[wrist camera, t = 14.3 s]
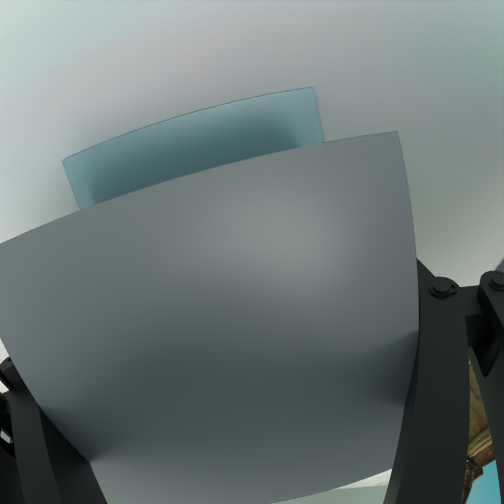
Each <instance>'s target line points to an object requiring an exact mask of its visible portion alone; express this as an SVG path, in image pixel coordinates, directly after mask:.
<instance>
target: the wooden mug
mask: <svg viewBox="0 0 504 504" xmlns="http://www.w3.org/2000/svg"><path fill="white" fill-rule="evenodd" d="M469 376H470V423H469V442H468V454H467V460H468V462H467V464H466V473H465V481H464V487H463V494H462V500H461V504H466V502H467V500H468V497H469V494H470V491H471V487H472V483H473V482H474V481H476V480H477V479H478V478H479V477H480V476H482V475H483V468H482V467H483V466H486V465H488V464H489V463H491V462H492V461H494V460H496V459H495V454H494V448H493V443H492V439H491V434H490V429H489V425H488V421H487V417H486V413H485V409H484V405H483V401H482V398H481V394H480V390H479V387H478V384H477V380H476V377H475V374H474V371H473V368H472V365H471V362H470V359H469Z"/></svg>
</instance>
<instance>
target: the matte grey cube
mask: <svg viewBox="0 0 504 504" xmlns="http://www.w3.org/2000/svg"><path fill="white" fill-rule="evenodd" d="M0 338H1V340H2V342H3V344H4V346H5V348H6V350H7V352H8V354H9V356H10V358H11V360H12V362H13V363H14V365H15V367H16V369H17V371H18V372H19V374H20V376H21V378H22V379H23V381H24V383H25V384H26V386H27V388H28V389H29V391H30V392H31V394H32V396H33V397H34V399H35V400H36V402H37V403H38V405H39V406H40V408H41V409H42V411H43V412H44V414H45V415H46V416H47V417H48V418H49V420H50V421H51V422H52V423H53V424H54V425H55V427H56V428H57V429H58V430H59V431H60V432H61V433H62V434H63V436H64V437H65V438H66V439H67V440H68V441H69V442H70V443H71V444H72V445H73V446H74V447H75V448H76V449H77V450H78V451H79V453H80V454H81V455H82V456H83V457H84V458H85V459H86V460H88V461H89V462H90V465H91V467H92V470H93V472H94V475H95V477H96V479H97V480H98V481H99V482H100V483H101V484H102V485H103V486H104V487H105V488H106V489H107V490H108V491H109V492H110V493H111V494H112V495H113V496H114V497H115V498H116V499H117V500H118V501H119V502H120V503H121V504H270V503H276V502H281V501H286V500H291V499H296V498H300V497H304V496H308V495H312V494H316V493H320V492H323V491H327V490H331V489H334V488H338V487H341V486H344V485H348V484H351V483H354V482H357V481H360V480H363V479H365V478H368V477H371V476H374V475H376V474H379V473H382V472H384V471H387V470H389V469H392V468H393V464H394V460H395V455H396V451H397V446H398V441H399V436H400V430H401V424H402V419H403V412H404V406H405V402H406V398H407V394H408V389H409V385H410V381H411V376H412V371H413V366H414V361H415V356H416V351H417V345H418V339H419V302H418V276H417V260H416V248H415V237H414V228H413V219H412V211H411V203H410V196H409V190H408V184H407V178H406V172H405V166H404V161H403V156H402V151H401V146H400V141H399V137H398V132H397V131H393V132H386V133H379V134H372V135H366V136H360V137H353V138H347V139H342V140H336V141H330V142H325V143H320V144H315V145H309V146H304V147H300V148H295V149H290V150H285V151H281V152H276V153H272V154H267V155H263V156H259V157H254V158H250V159H246V160H242V161H238V162H234V163H230V164H226V165H222V166H219V167H215V168H211V169H207V170H204V171H200V172H197V173H193V174H190V175H186V176H183V177H179V178H176V179H172V180H169V181H166V182H163V183H159V184H156V185H153V186H150V187H147V188H143V189H140V190H137V191H134V192H131V193H128V194H125V195H122V196H119V197H116V198H113V199H111V200H108V201H105V202H102V203H99V204H97V205H94V206H91V207H88V208H86V209H83V210H80V211H78V212H75V213H72V214H70V215H67V216H65V217H62V218H60V219H57V220H55V221H52V222H50V223H47V224H45V225H42V226H40V227H37V228H35V229H33V230H30V231H28V232H26V233H23V234H21V235H19V236H17V237H14V238H12V239H10V240H8V241H5V242H3V243H1V244H0Z"/></svg>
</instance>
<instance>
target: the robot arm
mask: <svg viewBox="0 0 504 504" xmlns="http://www.w3.org/2000/svg"><path fill="white" fill-rule="evenodd" d="M416 260H417V276H418V302H419V339H418V345H417V351H416V356H415V361H414V366H413V371H412V376H411V381H410V385H409V389H408V394H407V398H406V402H405V406H404V412H403V419H402V424H401V430H400V436H399V441H398V446H397V451H396V455H395V460H394V464H393V468H392V473H391V477H390V481H389V484H388V488H387V492H386V495H385V499H384V502H383V504H461V500H462V494H463V487H464V481H465V473H466V464H467V454H468V442H469V423H470V376H469V359H470V362H471V365H472V368H473V371H474V374H475V377H476V380H477V384H478V387H479V390H480V394H481V398H482V401H483V405H484V409H485V413H486V417H487V421H488V425H489V429H490V434H491V439H492V443H493V448H494V454H495V459H496V465H497V472H498V479H499V486H500V495H501V504H504V273H503V272H499V271H488V272H485V273H484V274H483V275H482V276H481V279H480V283H479V285H476V286H468V287H459V285H458V284H457V283H456V282H454V281H453V280H451V279H449V278H446V277H440V276H439V277H435V276H434V275H433V274H432V273H431V272H430V271H429V270H428V269H427V268H426V267H425V266H424V265H423V264H422V263H421V262H420V261H419V260H418V259H417V258H416ZM0 381H1V382H2V383H3V384H4V385H5V386H6V387H7V388H8V389H9V391H7V392H4V393H1V392H0V434H1V431H3V432H4V433H5V434H6V435H7V436H8V437H10V443H7V442H6V441H5V440H4V439H2V438H1V437H0V504H107V502H106V500H105V497H104V495H103V493H102V491H101V489H100V486H99V484H98V482H97V479H96V477H95V475H94V472H93V470H92V467H91V465H90V462H89V461H88V460H86V459H85V458H84V457H83V456H82V455H81V454H80V453H79V451H78V450H77V449H76V448H75V447H74V446H73V445H72V444H71V443H70V442H69V441H68V440H67V439H66V438H65V437H64V436H63V434H62V433H61V432H60V431H59V430H58V429H57V428H56V427H55V425H54V424H53V423H52V422H51V421H50V420H49V418H48V417H47V416H46V415H45V414H44V412H43V411H42V409H41V408H40V406H39V405H38V403H37V402H36V400H35V399H34V397H33V396H32V394H31V392H30V391H29V389H28V388H27V386H26V384H25V383H24V381H23V379H22V378H21V376H20V374H19V372H18V371H17V369H16V367H15V365H14V363H13V362H12V360H11V358H10V356H9V357H7V358H6V359H5V360H4V361H3V362H2V363H1V364H0Z"/></svg>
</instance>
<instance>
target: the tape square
mask: <svg viewBox="0 0 504 504" xmlns="http://www.w3.org/2000/svg"><path fill="white" fill-rule="evenodd" d="M320 143H324V141H323V135H322V129H321V123H320V117H319V112H318V106H317V101H316V96H315V90H314V87H310V88H303V89H297V90H291V91H285V92H279V93H274V94H269V95H263V96H259V97H254V98H249V99H244V100H240V101H236V102H231V103H227V104H223V105H219V106H215V107H211V108H207V109H204V110H200V111H196V112H193V113H189V114H186V115H182V116H179V117H176V118H172V119H169V120H166V121H163V122H160V123H156V124H153V125H150V126H147V127H144V128H142V129H139V130H136V131H133V132H130V133H127V134H125V135H122V136H119V137H117V138H114V139H111V140H109V141H106V142H104V143H101V144H99V145H96V146H94V147H91V148H89V149H87V150H84V151H82V152H80V153H77V154H75V155H73V156H71V157H68V158H66V159H64V160H62V163H63V165H64V168H65V171H66V174H67V176H68V179H69V182H70V184H71V187H72V190H73V192H74V195H75V197H76V200H77V202H78V205H79V207H80V209H81V210H83V209H86V208H88V207H91V206H94V205H97V204H99V203H102V202H105V201H108V200H111V199H113V198H116V197H119V196H122V195H125V194H128V193H131V192H134V191H137V190H140V189H143V188H147V187H150V186H153V185H156V184H159V183H163V182H166V181H169V180H172V179H176V178H179V177H183V176H186V175H190V174H193V173H197V172H200V171H204V170H207V169H211V168H215V167H219V166H222V165H226V164H230V163H234V162H238V161H242V160H246V159H250V158H254V157H259V156H263V155H267V154H272V153H276V152H281V151H285V150H290V149H295V148H300V147H304V146H309V145H315V144H320Z"/></svg>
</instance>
